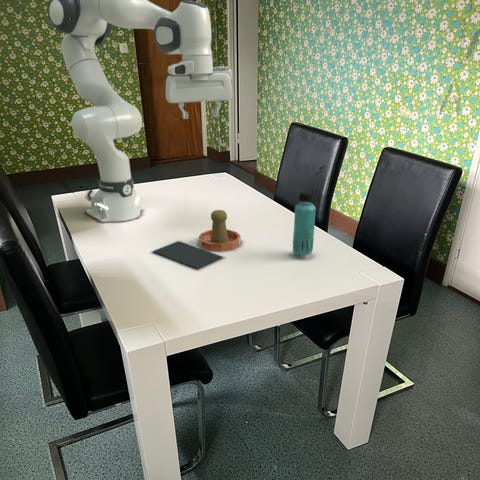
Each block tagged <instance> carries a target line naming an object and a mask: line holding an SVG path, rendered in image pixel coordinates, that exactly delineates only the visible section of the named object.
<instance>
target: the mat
mask: <svg viewBox="0 0 480 480" xmlns="http://www.w3.org/2000/svg"><path fill="white" fill-rule="evenodd" d="M152 252H153V253H154V254H156V255H159V256H161V257H164V258H166V259H169V260H172V261H174V262H177V263H178V264H179V263H180V264H181V265H185V266H186V267H190V268H193V269H195V270H200V269H203V268H204V267H206V266H209V265H210V264H213V263H215V262H218V261H219V260H221V259H223V256H221V255H219V254H216V253H213V252H211V251H209V250H206V249H203V248H198V247H196V246H193V245H190V244H187V243H185V242H181V241H180V240H179V241H176V242H173V243H170V244H168V245H166V246H163V247H160V248H157V249H155V250H153V251H152Z"/></svg>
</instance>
